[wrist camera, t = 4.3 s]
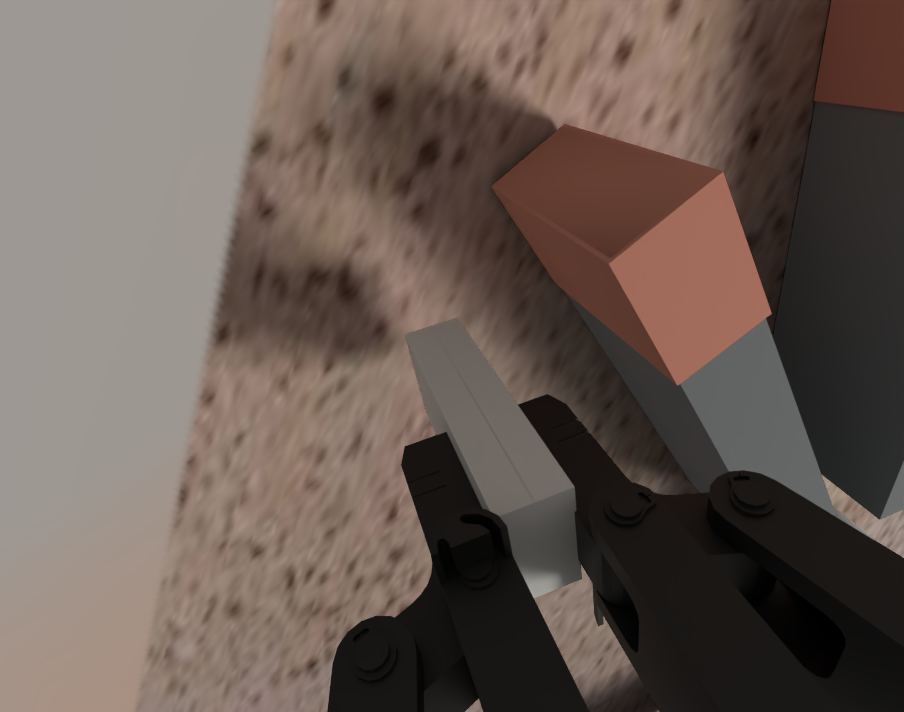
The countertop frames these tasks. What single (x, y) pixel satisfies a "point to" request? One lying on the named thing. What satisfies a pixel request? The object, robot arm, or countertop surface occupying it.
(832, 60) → the tongs base
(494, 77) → the countertop surface
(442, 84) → the countertop surface
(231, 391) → the countertop surface
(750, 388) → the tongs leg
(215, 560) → the countertop surface
